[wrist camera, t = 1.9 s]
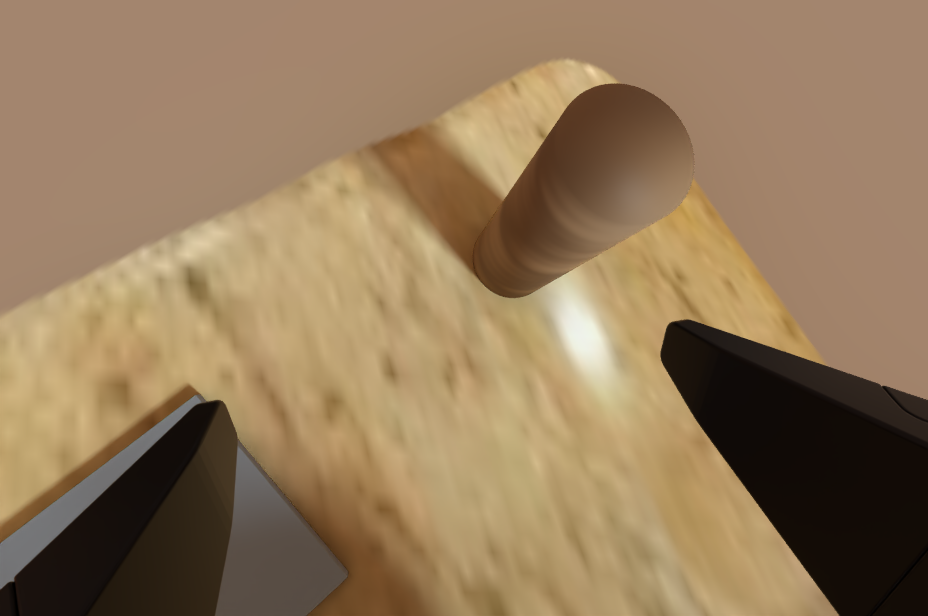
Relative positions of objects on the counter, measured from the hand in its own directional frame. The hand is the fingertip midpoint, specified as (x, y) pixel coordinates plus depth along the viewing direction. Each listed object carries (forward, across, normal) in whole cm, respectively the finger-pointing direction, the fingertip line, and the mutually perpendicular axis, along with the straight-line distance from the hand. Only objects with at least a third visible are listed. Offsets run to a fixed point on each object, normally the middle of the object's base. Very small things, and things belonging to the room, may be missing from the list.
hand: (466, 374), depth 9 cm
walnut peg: (+15, -6, +5) cm, 17 cm away
